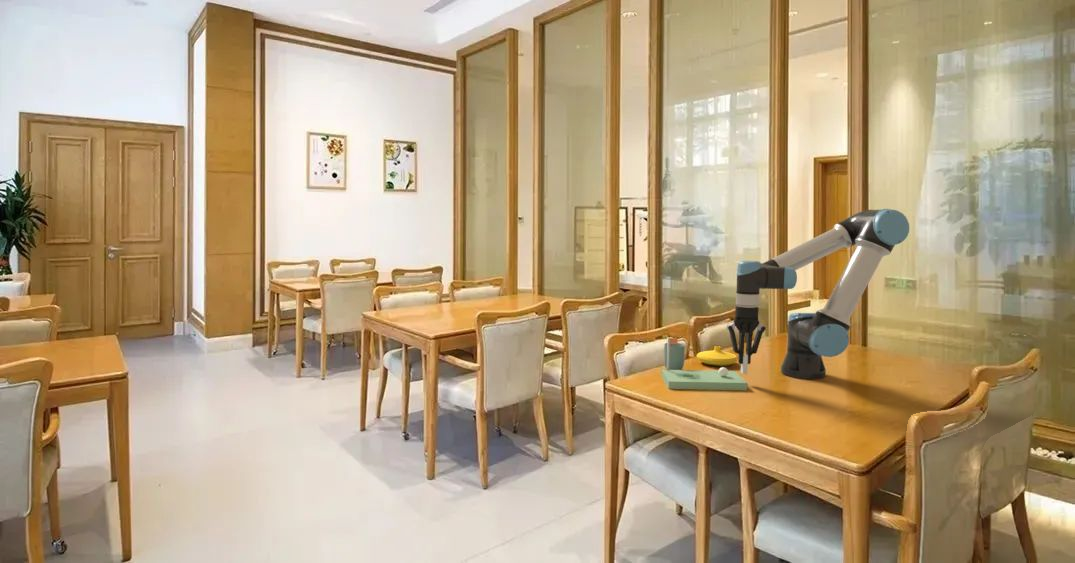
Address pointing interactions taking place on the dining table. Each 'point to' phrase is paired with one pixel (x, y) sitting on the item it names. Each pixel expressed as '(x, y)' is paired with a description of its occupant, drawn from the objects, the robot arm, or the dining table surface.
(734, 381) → the green stand
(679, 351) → the cup
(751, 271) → the robot arm
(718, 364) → the yellow round domed piece
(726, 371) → the ball
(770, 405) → the dining table surface
